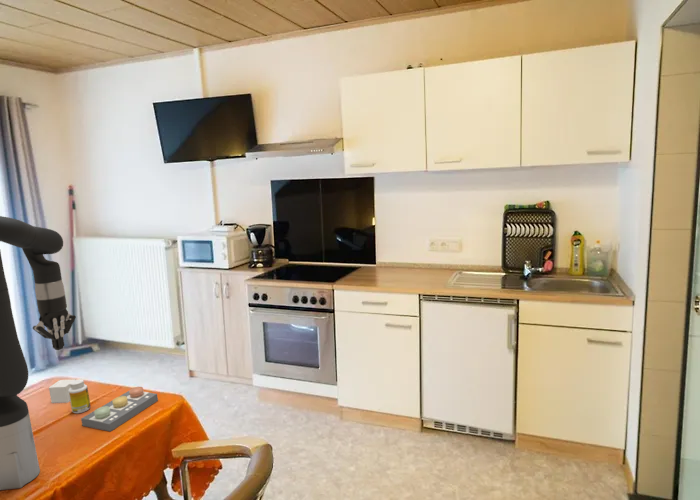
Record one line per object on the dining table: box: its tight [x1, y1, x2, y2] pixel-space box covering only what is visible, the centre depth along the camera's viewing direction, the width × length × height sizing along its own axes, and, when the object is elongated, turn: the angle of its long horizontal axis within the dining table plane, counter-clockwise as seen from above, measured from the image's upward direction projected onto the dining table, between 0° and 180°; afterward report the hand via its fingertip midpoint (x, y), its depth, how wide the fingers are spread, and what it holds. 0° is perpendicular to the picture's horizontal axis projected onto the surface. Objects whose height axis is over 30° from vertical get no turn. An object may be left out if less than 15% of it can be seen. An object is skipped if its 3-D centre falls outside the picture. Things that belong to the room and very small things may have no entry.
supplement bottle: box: [69, 378, 91, 414], centre depth 158 cm, size 6×6×10 cm
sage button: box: [93, 405, 110, 418], centre depth 149 cm, size 4×4×2 cm
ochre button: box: [111, 395, 128, 407], centre depth 155 cm, size 4×4×2 cm
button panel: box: [80, 390, 159, 433], centre depth 156 cm, size 20×12×3 cm, turn 159°
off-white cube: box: [48, 378, 77, 404], centre depth 168 cm, size 6×6×6 cm
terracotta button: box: [128, 386, 145, 397], centre depth 162 cm, size 4×4×2 cm
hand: (59, 349), depth 147 cm, fingers closed
